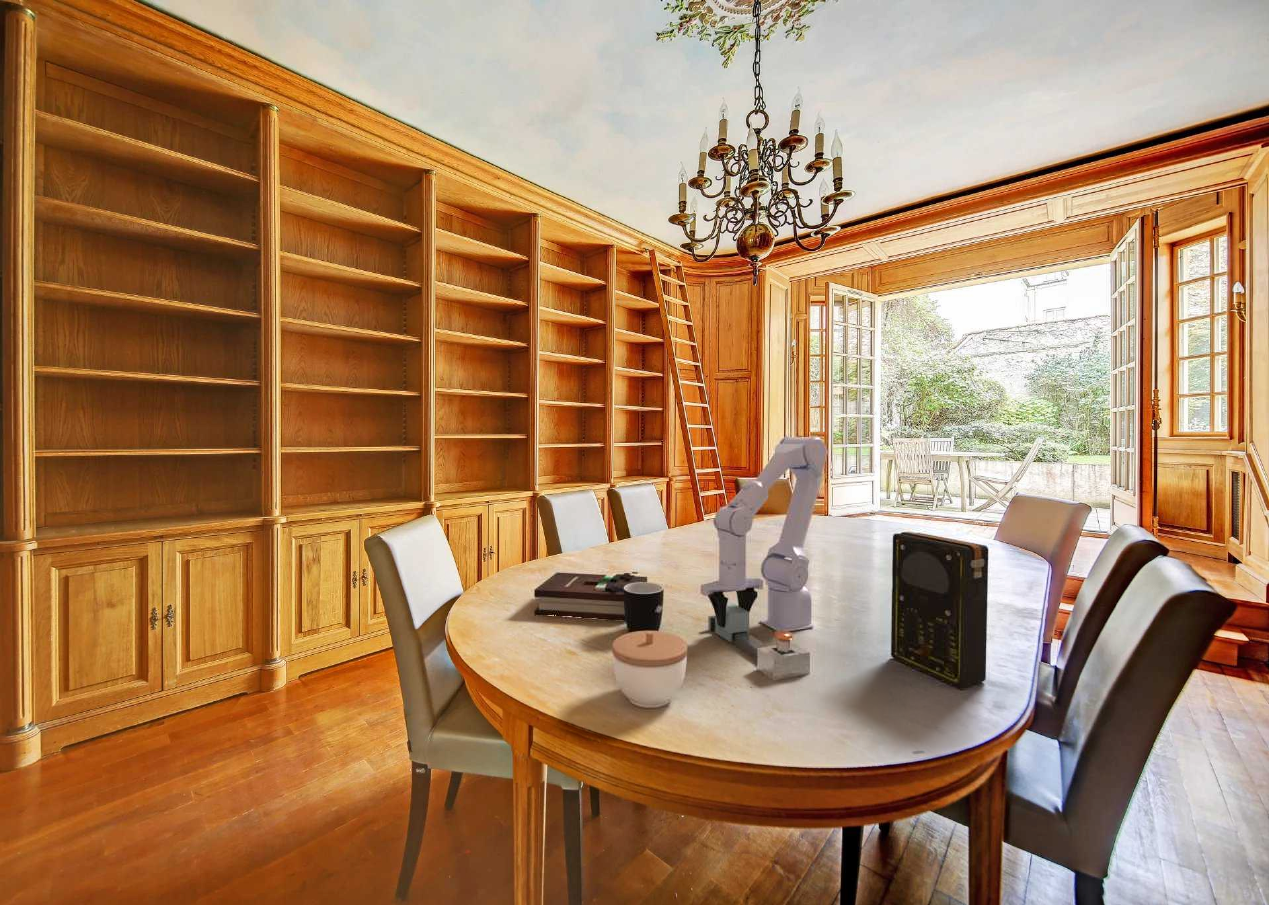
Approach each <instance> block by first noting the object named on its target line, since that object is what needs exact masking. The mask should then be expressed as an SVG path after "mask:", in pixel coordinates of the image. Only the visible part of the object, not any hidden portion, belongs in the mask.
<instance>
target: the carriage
mask: <svg viewBox="0 0 1269 905" xmlns="http://www.w3.org/2000/svg"><path fill="white" fill-rule="evenodd" d="M714 616H715V631H714V632H715V633H716V635H718V636H721V638H723V639H724V640H726V641H727V642H729V643H732V633H737V632H744V631H745V632H746V633H748V634H749V635H750V612H748V611H746V610H745V609H743V608H741V607H739V606H738V604H736V603H731V604H727V607H726V623H725V627H721V626H719V625H718V624H717V619H716V615H714Z"/></svg>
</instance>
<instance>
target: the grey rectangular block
mask: <svg viewBox="0 0 1269 905" xmlns="http://www.w3.org/2000/svg"><path fill="white" fill-rule="evenodd" d="M767 646H768V645H767ZM756 660H757V662H756V664H757V665H756V666H757V668H756V669H757V670H758V671H759V672H760V671H761V673H762V674H764V675H765V676H766V677H767V678H768V679H770V680H772V681H778V680H779V679H780V680H784V679H789V678H793V677H799V676H804V675H805V676H806V675H809V674H810V672H811V671H810V670H811V669H810V667H811V652H810V651H809V650H807V649H805V648H804V647H801V645H798V644H796V643H795V642H793V641H791V642H790V653H789V654H783V655H781V654H779V653H778V652H777V644H775V645H770V646H768V647H763V648H757V659H756Z"/></svg>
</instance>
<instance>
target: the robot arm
mask: <svg viewBox="0 0 1269 905" xmlns="http://www.w3.org/2000/svg"><path fill="white" fill-rule="evenodd" d="M828 454H829V451H828V449H827V447H826V444H825V442H824V440H823V439H821V437H819V436H811V437H810V436H805V437H804V436H802V437H801V436H800V437H799V436H798V437H797V436H784V437H782V438H781V439H780V441H779V442H778V443H777V444H776V445H775V447H774V454H773V456H772V457H771V458H770V459H769V461H768V462H767V464H766V465H765V466H764V468H763V469H762V471H761V472H760V474H759V475H758V476H757V478H756V479H755V480H750V481H747V482H745V483H743V484H742V485H741V489H740V490H739V492H738V493H737V494H736V495H735V496H734V497H733V498H732V499H730V501H729V502H728V504H727V505H725V506H722V507H720V508H719V509H718V510H717V512H716V514H715V516H714V518H713V520H712V522H713V523H712V524H713V526H714V528H715V529H716V531H717V538H718V579H717V580H714V581H712V582H708V583H704V584H700V595H702V596H705V597H707V598H708V599H709V601H710V603H711V606H712V607H713V611H714V614H715V615H716V619H717V624H718V625H719V626H721V627H725V623H726V607H727V605H728V602H729V598H728V597H727V596H725V594H724V593H732V592H736V593H735V594H736V598H737V606H739V607H741V608H743V609H745V610H746V611H748V612H749V613H750V612H751V609H752V607H753V604H754V603H755V601H756V599H758V591H756V590H755V589H758V590H763V589H764V580H765V585H767V618H760V619H759V622H760V623H761V624H764V625H765V626H767V627H769V628H770V629H772V630H774V631H775V632H776V631H788V632H792V631H793V632H794V631H799V630H800V631H801V630H805V629H811V628H814V624H812V597H811V593H810V591H809V589H808V588H807V587H806V584H807V582H808V579H809V564H810V559H809V557H808V556H807V555H806V553H805V551H804V550H803V548H804V545H805V540H806V537H807V535H808V530H809V528H810V523H811V520H812V517H813V513H814V509H815V505H816V502H817V498H818V494H819V491H820V487H821V484H822V480H823V473H824V467H825V464H826V461H827V457H828ZM788 470H789V471H790V472H791V473H792V474H793V475H794V477H795V478H796V481H795V484H794V488H793V492H792V495H791V499H790V501H789V502H790V503H789V504H788V505H789V506H788V509H787V513H786V516H785V520H784V523H783V526H782V529H781V534H780V536H779V540H778V542H777V543H775V544H774V545H772V546H771V547H769V548H768V552H767V553H766V556H765V557H764V559H762V563H761V564H760V574H761V577H762V578H763V579H764V580H763V579H761V578H759V577H756V578H755V577H754V578H752V577H751V578H746V577H747V576H746V575H747V573H746V572H747V571H746V569H747V567H746V566H747V564H746V563H747V562H746V561H747V555H746V554H747V552H746V551H747V548H746V547H747V533H748V532H750V531H751V529H752V527H753V522H754V521H753V520H754V519H755V516H756V514H757V513H758V512H759V510H760V509H761V508H762V507H763V505H764V504H765V503H766V502H767V500H768V499H769V489H771V488H772V487H773V485H775V483H776V482H777V481H778V480H779V479H780V478H782V476H783V475H784V474H785V473H786V472H787V471H788ZM715 615H714V616H715Z"/></svg>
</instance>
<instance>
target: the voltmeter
mask: <svg viewBox="0 0 1269 905" xmlns="http://www.w3.org/2000/svg"><path fill="white" fill-rule="evenodd" d="M891 560H892V562H891V563H892V567H891V568H892V570H891V577H892V579H891V580H892V582H891V586H892V587H891V621H890V622H891V625H890V628H891V629H890V630H891V631H890V633H891V634H890V638H891V640H890V655H891V658H892V657H893V658H894V660H895V659H896V661H898V662H900V663H902V662H903V663H902V664H904V663H905V664H904V665H906V664H907V666H909V667H911V668H913V669H915V670H917V669H918V670H917V671H919V672H922V673H924V674H927V675H929V676H930V675H931V676H930V677H933V678H935V679H938V680H939V679H940V680H939V681H941V682H944V683H946V684H948V683H949V684H948V685H950V686H952V685H953V686H952V687H955V688H957V689H959V690H966V688H967V686H971V685H972V686H973V685H975V684H978V683H981V682H984V681H985V680H987V676H986V675H987V640H988V639H987V638H988V637H987V636H988V634H987V632H988V593H989V591H988V587H989V583H988V582H989V547H988V546H987V545H985V544H979V543H975V542H969V541H964V540H959V539H953V538H949V537H943V536H938V535H932V534H927V533H926V534H925V533H923V532H922V533H921V532H913V531H902V532H900V533H893V535H892V559H891Z"/></svg>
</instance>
